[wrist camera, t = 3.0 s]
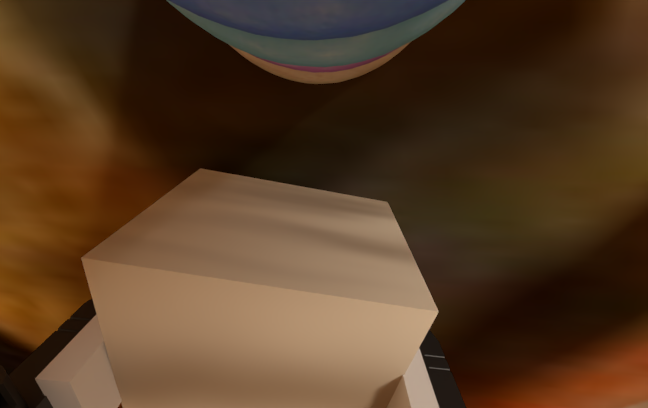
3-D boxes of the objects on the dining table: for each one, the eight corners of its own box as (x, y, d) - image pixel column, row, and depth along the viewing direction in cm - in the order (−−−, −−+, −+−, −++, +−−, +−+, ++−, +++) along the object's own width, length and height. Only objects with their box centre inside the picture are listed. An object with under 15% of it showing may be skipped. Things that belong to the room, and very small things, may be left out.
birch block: (201, 167, 11) (80, 257, 6) (386, 200, 12) (438, 311, 6) (204, 303, 14) (131, 439, 9) (345, 324, 15) (356, 462, 10)
